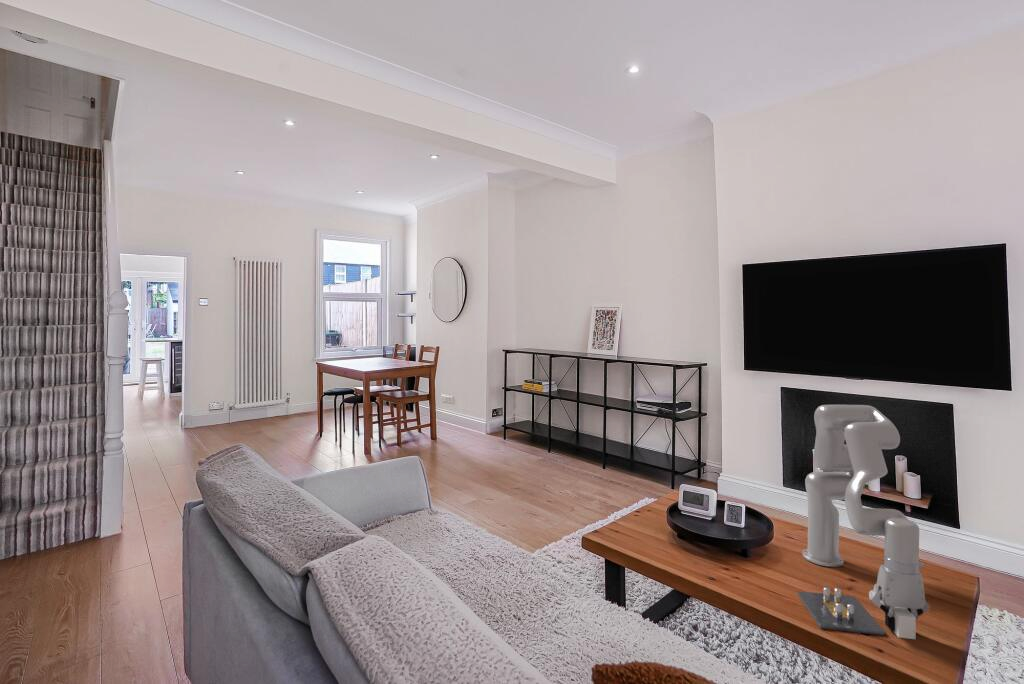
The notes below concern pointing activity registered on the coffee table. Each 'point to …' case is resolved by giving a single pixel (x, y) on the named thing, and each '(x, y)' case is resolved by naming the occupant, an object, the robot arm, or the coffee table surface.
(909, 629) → the jaw block
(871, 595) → the mechanical component
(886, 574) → the robot arm
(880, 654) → the coffee table surface
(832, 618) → the base plate
